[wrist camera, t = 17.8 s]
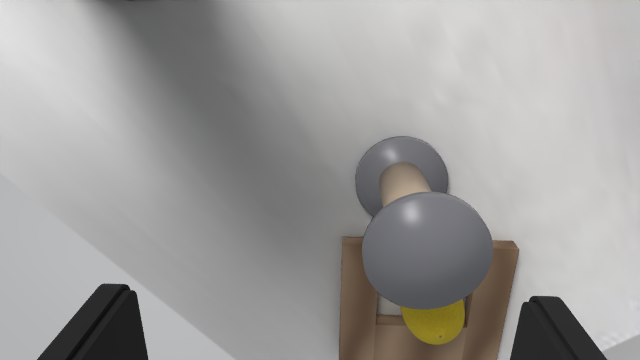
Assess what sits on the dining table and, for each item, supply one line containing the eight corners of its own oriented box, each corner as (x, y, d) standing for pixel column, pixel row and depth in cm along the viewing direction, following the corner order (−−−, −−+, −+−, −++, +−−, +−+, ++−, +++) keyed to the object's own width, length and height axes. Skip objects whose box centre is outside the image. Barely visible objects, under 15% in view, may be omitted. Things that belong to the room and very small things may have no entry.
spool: (353, 218, 41) (360, 307, 29) (356, 135, 38) (365, 196, 26) (440, 220, 41) (483, 311, 29) (450, 137, 38) (503, 199, 26)
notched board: (339, 352, 47) (339, 362, 46) (342, 236, 42) (342, 244, 40) (490, 357, 46) (495, 367, 45) (513, 241, 41) (519, 249, 40)
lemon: (454, 255, 42) (478, 309, 35) (450, 303, 44) (472, 363, 37) (396, 255, 42) (407, 309, 35) (394, 303, 44) (405, 363, 37)
